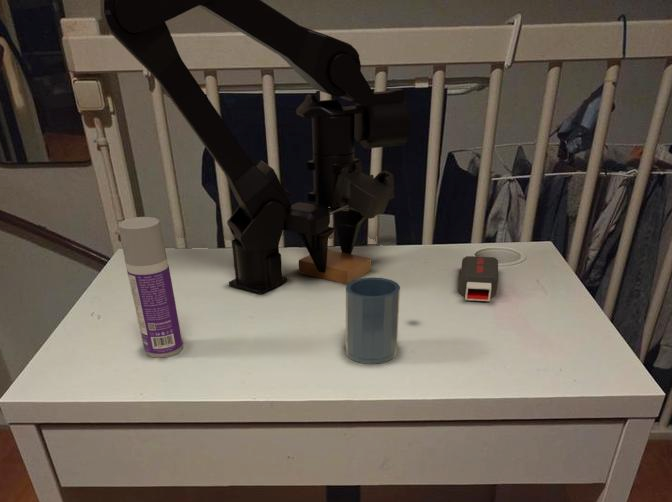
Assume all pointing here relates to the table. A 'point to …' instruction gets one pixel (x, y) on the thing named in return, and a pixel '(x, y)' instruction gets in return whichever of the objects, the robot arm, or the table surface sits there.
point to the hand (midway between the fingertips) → (334, 265)
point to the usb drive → (479, 278)
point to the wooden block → (337, 267)
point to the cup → (372, 319)
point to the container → (151, 285)
